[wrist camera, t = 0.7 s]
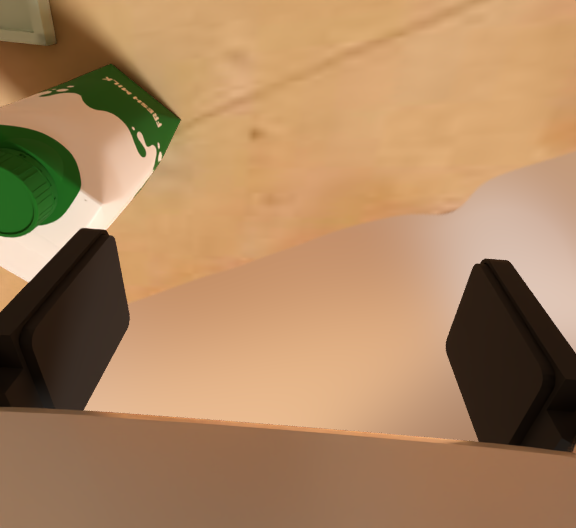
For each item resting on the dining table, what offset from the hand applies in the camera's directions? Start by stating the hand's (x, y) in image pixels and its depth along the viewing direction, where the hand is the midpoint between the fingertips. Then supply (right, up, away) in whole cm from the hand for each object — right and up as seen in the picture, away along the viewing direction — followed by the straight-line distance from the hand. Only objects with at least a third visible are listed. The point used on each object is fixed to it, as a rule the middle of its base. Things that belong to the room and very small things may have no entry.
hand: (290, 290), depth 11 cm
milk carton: (-14, +13, +27) cm, 33 cm away
